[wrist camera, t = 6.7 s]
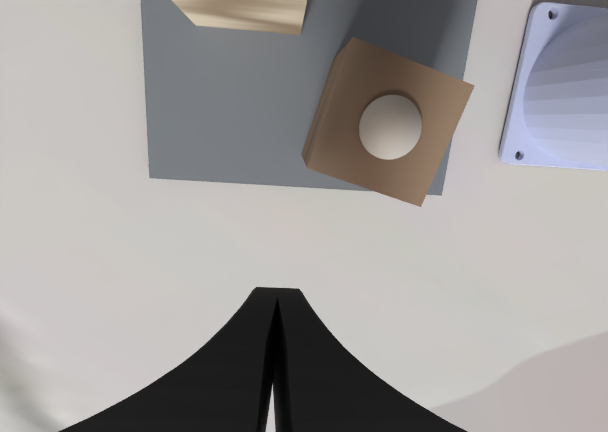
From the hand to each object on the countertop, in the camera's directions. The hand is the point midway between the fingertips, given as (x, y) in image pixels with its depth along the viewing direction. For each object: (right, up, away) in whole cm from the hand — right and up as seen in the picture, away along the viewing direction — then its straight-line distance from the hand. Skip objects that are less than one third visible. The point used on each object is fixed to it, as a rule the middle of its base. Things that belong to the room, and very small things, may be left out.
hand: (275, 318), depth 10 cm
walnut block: (+4, +8, +8) cm, 12 cm away
